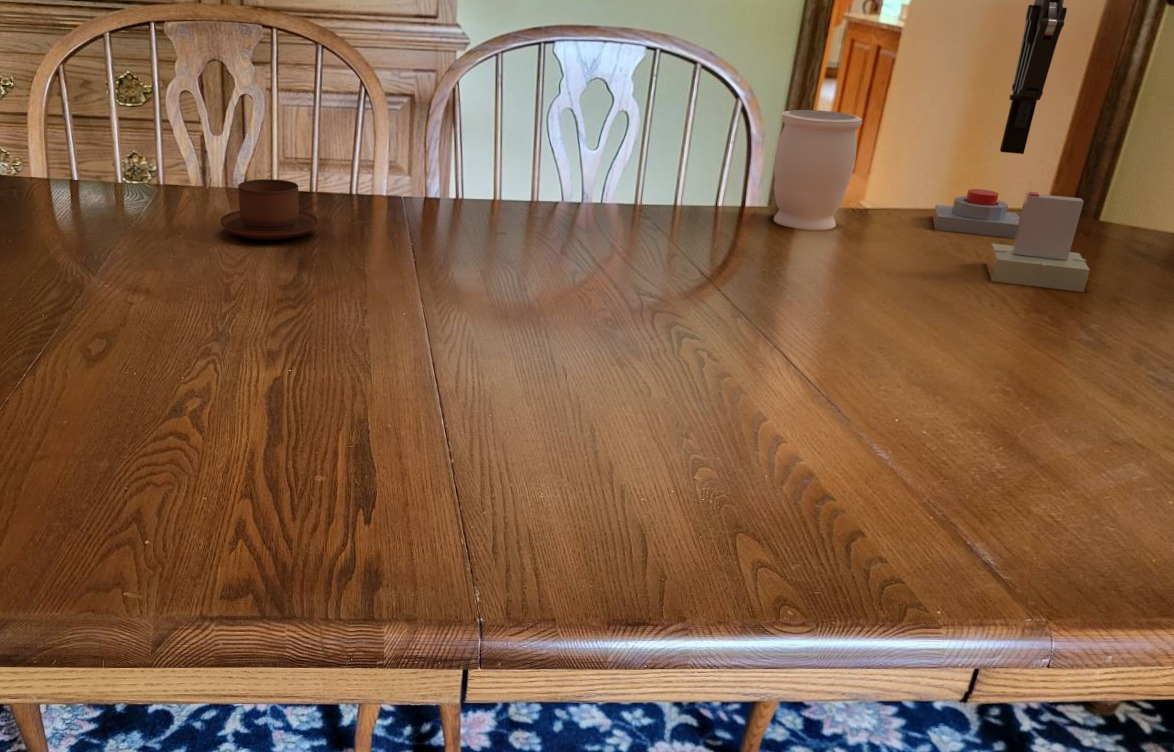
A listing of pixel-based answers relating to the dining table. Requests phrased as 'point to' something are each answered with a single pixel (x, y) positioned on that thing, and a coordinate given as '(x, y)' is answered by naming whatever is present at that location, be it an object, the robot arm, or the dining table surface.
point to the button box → (976, 218)
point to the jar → (813, 167)
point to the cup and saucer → (269, 211)
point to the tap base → (1037, 269)
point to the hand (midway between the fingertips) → (1011, 151)
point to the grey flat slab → (1047, 226)
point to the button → (982, 197)
